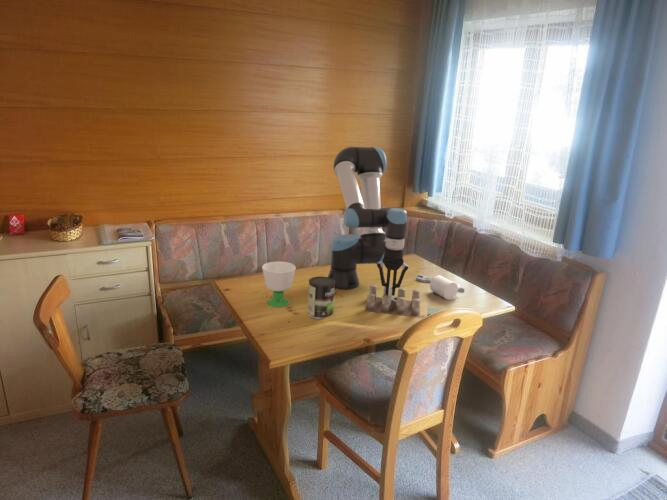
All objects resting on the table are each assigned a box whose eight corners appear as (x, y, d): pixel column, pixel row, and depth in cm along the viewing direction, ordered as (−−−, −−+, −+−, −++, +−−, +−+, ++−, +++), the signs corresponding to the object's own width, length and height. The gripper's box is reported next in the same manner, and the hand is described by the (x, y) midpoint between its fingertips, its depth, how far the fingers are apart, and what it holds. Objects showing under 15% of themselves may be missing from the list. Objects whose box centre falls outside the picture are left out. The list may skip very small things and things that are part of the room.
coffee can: (338, 313, 194) (340, 280, 190) (324, 322, 186) (326, 287, 182) (317, 306, 199) (318, 274, 195) (302, 314, 191) (303, 281, 187)
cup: (281, 293, 210) (281, 259, 205) (301, 303, 201) (302, 268, 196) (254, 301, 201) (254, 265, 196) (275, 312, 192) (275, 275, 187)
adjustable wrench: (465, 292, 224) (466, 288, 224) (458, 295, 220) (458, 292, 219) (420, 276, 240) (420, 273, 240) (412, 279, 236) (413, 276, 235)
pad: (420, 315, 196) (421, 313, 196) (420, 308, 203) (420, 306, 202) (440, 317, 195) (441, 315, 195) (440, 310, 202) (440, 308, 201)
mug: (442, 301, 212) (444, 283, 209) (428, 292, 220) (430, 276, 218) (463, 297, 217) (466, 280, 215) (449, 289, 225) (451, 273, 223)
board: (364, 313, 195) (365, 297, 193) (368, 298, 210) (369, 283, 208) (419, 319, 192) (421, 303, 190) (419, 303, 207) (421, 288, 205)
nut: (390, 308, 198) (391, 300, 197) (391, 303, 203) (391, 296, 202) (401, 309, 198) (401, 301, 197) (401, 305, 202) (402, 297, 201)
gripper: (377, 248, 191) (372, 303, 198) (410, 251, 189) (404, 307, 196) (378, 243, 198) (374, 297, 205) (410, 246, 196) (405, 300, 203)
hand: (389, 302), depth 200 cm, fingers closed
